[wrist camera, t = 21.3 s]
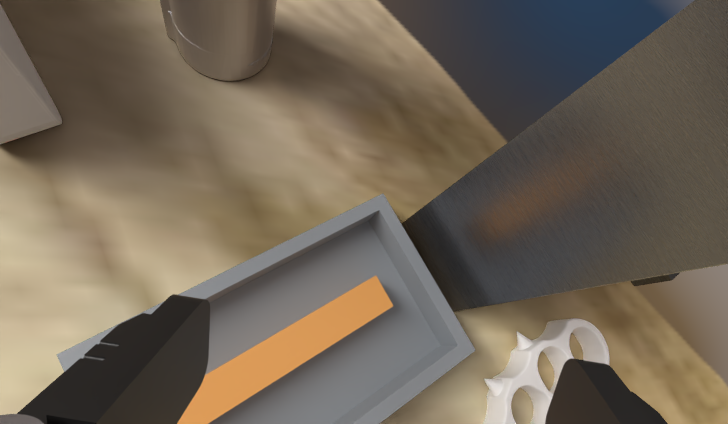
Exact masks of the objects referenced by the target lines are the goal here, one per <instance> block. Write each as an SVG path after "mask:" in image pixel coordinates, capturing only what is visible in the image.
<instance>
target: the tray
mask: <svg viewBox="0 0 728 424" xmlns="http://www.w3.org/2000/svg"><path fill="white" fill-rule="evenodd" d="M374 276H377V278H378V279H379V281H380V283H381V285H382V286H383V288H384V290H385V292H386V293H387V295H388V297H389V299H390V301H391V302H392V304H393V307H391V308H390V309H388V310H387V311H385V312H383V313H382V314H380V315H379V316H377V317H376V318H374V319H372V320H371V321H369V322H368V323H366V324H365V325H363V326H361V327H360V328H358V329H357V330H355V331H353V332H352V333H350V334H349V335H347V336H346V337H344V338H342V339H341V340H339V341H338V342H336V343H335V344H333V345H331V346H330V347H328V348H327V349H325V350H323V351H322V352H320V353H319V354H317V355H316V356H314V357H312V358H311V359H309V360H308V361H306V362H305V363H303V364H301V365H300V366H298V367H297V368H295V369H294V370H292V371H290V372H289V373H287V374H286V375H284V376H282V377H281V378H279V379H278V380H276V381H275V382H273V383H271V384H270V385H268V386H267V387H265V388H264V389H262V390H260V391H259V392H257V393H256V394H254V395H253V396H251V397H249V398H248V399H246V400H245V401H243V402H241V403H240V404H238V405H237V406H235V407H234V408H232V409H230V410H229V411H227V412H226V413H224V414H223V415H221V416H219V417H218V418H216V419H215V420H213V421H211V422H210V423H208V424H380V423H381V422H382V421H384V420H385V419H386V418H387V417H389V416H390V415H391V414H393V413H394V412H395V411H397V410H398V409H399V408H401V407H402V406H403V405H405V404H406V403H407V402H408V401H410V400H411V399H412V398H414V397H415V396H416V395H418V394H419V393H420V392H422V391H423V390H424V389H425V388H427V387H428V386H429V385H431V384H432V383H433V382H435V381H436V380H437V379H439V378H440V377H441V376H443V375H444V374H445V373H446V372H448V371H449V370H450V369H452V368H453V367H454V366H456V365H457V364H458V363H460V362H461V361H462V360H464V359H465V358H466V357H467V356H469V355H470V354H471V353H473V352H474V351H475V348H474V347H473V345H472V343H471V342H470V340H469V338H468V336H467V335H466V333H465V331H464V330H463V328H462V326H461V325H460V323H459V321H458V320H457V318H456V316H455V314H454V313H453V311H452V309H451V308H450V306H449V304H448V303H447V301H446V299H445V297H444V296H443V294H442V292H441V291H440V289H439V287H438V286H437V284H436V282H435V280H434V279H433V277H432V275H431V274H430V272H429V270H428V269H427V267H426V265H425V264H424V262H423V260H422V258H421V257H420V255H419V253H418V252H417V250H416V248H415V247H414V245H413V243H412V241H411V240H410V238H409V236H408V235H407V233H406V231H405V230H404V228H403V226H402V224H401V223H400V221H399V219H398V218H397V216H396V214H395V213H394V211H393V209H392V208H391V206H390V204H389V202H388V201H387V199H386V197H385V196H384V194H381V195H379V196H377V197H375V198H373V199H371V200H369V201H367V202H365V203H363V204H361V205H359V206H357V207H355V208H353V209H351V210H349V211H347V212H344V213H342V214H340V215H338V216H336V217H334V218H332V219H330V220H328V221H326V222H324V223H322V224H320V225H318V226H316V227H314V228H312V229H310V230H308V231H306V232H304V233H302V234H300V235H298V236H296V237H294V238H292V239H290V240H288V241H286V242H284V243H282V244H280V245H278V246H276V247H274V248H272V249H270V250H268V251H266V252H263V253H261V254H259V255H257V256H255V257H253V258H251V259H249V260H247V261H245V262H243V263H241V264H239V265H237V266H235V267H233V268H231V269H229V270H227V271H225V272H223V273H221V274H219V275H217V276H215V277H213V278H211V279H209V280H207V281H205V282H203V283H201V284H199V285H197V286H195V287H193V288H191V289H189V290H187V291H185V292H183V293H180V294H178V295H181V296H187V297H194V298H200V299H206V300H208V301H209V303H210V332H209V357H208V365H207V370H206V373H205V375H206V374H207V373H209V372H211V371H212V370H214V369H216V368H218V367H219V366H221V365H223V364H224V363H226V362H228V361H230V360H231V359H233V358H235V357H236V356H238V355H240V354H241V353H243V352H245V351H247V350H248V349H250V348H252V347H253V346H255V345H257V344H259V343H260V342H262V341H264V340H265V339H267V338H269V337H271V336H272V335H274V334H276V333H277V332H279V331H281V330H283V329H284V328H286V327H288V326H289V325H291V324H293V323H295V322H296V321H298V320H300V319H301V318H303V317H305V316H307V315H308V314H310V313H312V312H313V311H315V310H317V309H318V308H320V307H322V306H324V305H325V304H327V303H329V302H330V301H332V300H334V299H336V298H337V297H339V296H341V295H342V294H344V293H346V292H348V291H349V290H351V289H353V288H354V287H356V286H358V285H360V284H361V283H363V282H365V281H366V280H368V279H370V278H372V277H374ZM164 302H165V301H164ZM164 302H162V303H164ZM162 303H160V304H158V305H156V306H154V307H152V308H150V309H148V310H146V311H144V312H142V313H146V314H152V313H153V312H154V311H155V310H156V309H157V308H158V307H159V306H160V305H161V304H162ZM142 313H140V314H142ZM140 314H138V315H140ZM138 315H136V316H138ZM134 317H135V316H134ZM132 318H133V317H132ZM130 319H131V318H130ZM128 320H129V319H128ZM126 321H127V320H126ZM124 322H125V321H124ZM122 323H123V322H122ZM120 324H121V323H120ZM118 325H119V324H118ZM116 326H117V325H116ZM116 326H114V327H112V328H110V329H108V330H106V331H104V332H102V333H99V334H97V335H95V336H93V337H91V338H89V339H87V340H85V341H83V342H81V343H79V344H77V345H75V346H73V347H71V348H69V349H67V350H65V351H63V352H61V353H59V354H57V357H58V359H59V361H60V363H61V366H62V368H63V370H64V372H65V371H66V370H67V369H68V368H70V367H71V366H72V365H73V364H74V363H75V362H76V361H78V360H79V359H80V358H84V354H85V353H87V352H88V351H89V350H90V349H91V348H92V347H93V346H95V345H96V344H99V343H100V340H101V339H103V338H104V337H105V336H106V335H107V334H108V333H109V332H110V331H112V330H113V329H114V328H115V327H116Z"/></svg>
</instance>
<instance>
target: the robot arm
mask: <svg viewBox="0 0 728 424" xmlns="http://www.w3.org/2000/svg"><path fill="white" fill-rule="evenodd" d="M276 2H277V0H160V3H161V8H162V12H163V17H164V21H165V26H166V30H167V35H168V37H170V38H171V39H173V40H174V41H175V42H176V44H177V46H178V48H179V51H180V54H181V55H182V56H183V58H184V59H185V61H186V62H187V63H188V64H189V65H190V66H191V67H192V68H193V69H195V70H197V71H198V72H200V73H201V74H203V75H206V76H208V77H210V78H214V79H218V80H226V81H235V80H242V79H245V78H249V77H251V76H253V75H255V74H256V73H258V72H259V71H260V70H261V69H262V68H264V66H265V65H266V63H267V62H268V59H269V56H270V53H271V45H272V40H273V38H272V36H273V28H274V19H275V11H276ZM209 332H210V303H209V301H208V300H206V299H200V298H194V297H187V296H181V295H171V296H170V297H169V298H168V299H167V300H166V301H165V302H164V303H162V304H161V305H160V306H159V307H158V308H157V309H156V310H155V311H154V312H153V313H152V314H146V313H142V314H140V315H138V316H135V317H133V318H131V319H129V320H127V321H125V322H123V323H121V324H119V325H117V326H116V327H115V328H114V329H113V330H112V331H110V332H109V333H108V334H107V335H106V336H105V337H104V338H103V339H101V340H100V343H99V344H96V345H95V346H93V347H92V348H91V349H90V350H89V351H88V352H87V353H85V354H84V358H80V359H79V360H78V361H76V362H75V363H74V364H73V365H72V366H71V367H70V368H68V369H67V370H66V371H65V372H64V373H63V374H62V375H60V376H59V377H58V378H57V379H56V380H55V381H54V382H53V383H51V384H50V385H49V386H48V387H47V388H46V389H45V390H43V391H42V392H41V393H40V394H39V395H38V396H37V397H35V398H34V399H33V400H32V401H31V402H30V403H29V404H27V405H26V406H25V407H24V408H23V409H22V410H21V411H20V412H18V413H17V414H8V415H0V424H177V423H178V421H179V420H180V418H181V417H182V415H183V413H184V412H185V410H186V409H187V407H188V405H189V404H190V402H191V401H192V399H193V397H194V396H195V394H196V393H197V391H198V389H199V388H200V386H201V384H202V382H203V379H204V376H205V373H206V370H207V365H208V357H209ZM545 424H667V422H666V421H665V420H664V419H663V418H662V416H661V415H660V414H659V413H658V412H657V411H656V410H655V409H653V408H652V407H651V406H650V405H648V404H647V403H646V402H645V401H643V400H642V399H641V398H640V397H638V396H637V395H636V394H635V393H633V392H630V390H629V389H628V388H627V387H626V385H625V384H624V383H623V382H622V380H621V379H620V378H619V377H618V375H617V374H616V373H615V371H614V370H613V369H612V368H611V367H610V366H609V365H607V364H604V363H597V362H591V361H585V360H578V359H568V360H567V361H566V362H565V363H564V365H563V368H562V370H561V373H560V376H559V379H558V382H557V385H556V388H555V391H554V394H553V397H552V400H551V403H550V406H549V408H548V411H547V415H546V422H545Z"/></svg>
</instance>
